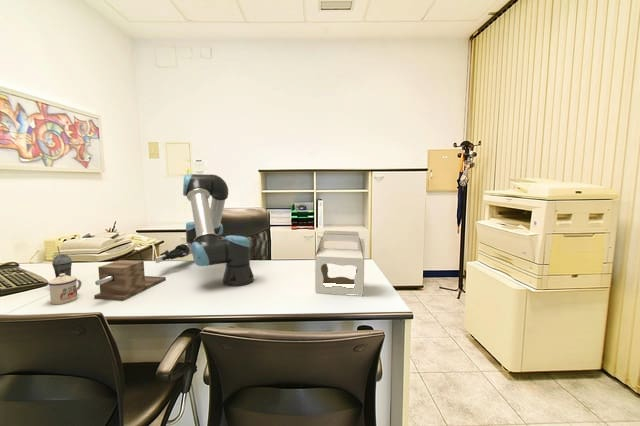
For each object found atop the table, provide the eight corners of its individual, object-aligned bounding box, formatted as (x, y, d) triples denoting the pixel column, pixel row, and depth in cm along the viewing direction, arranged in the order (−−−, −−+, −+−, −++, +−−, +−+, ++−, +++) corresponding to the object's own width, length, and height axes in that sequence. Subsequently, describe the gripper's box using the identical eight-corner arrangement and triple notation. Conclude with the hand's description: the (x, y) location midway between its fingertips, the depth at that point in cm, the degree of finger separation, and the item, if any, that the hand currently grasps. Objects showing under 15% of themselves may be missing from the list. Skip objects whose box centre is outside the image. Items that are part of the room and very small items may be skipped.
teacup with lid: (62, 305, 120) (59, 278, 118) (44, 303, 122) (41, 276, 120) (90, 294, 131) (88, 269, 130) (73, 293, 133) (71, 268, 132)
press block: (141, 278, 154) (139, 253, 152) (165, 280, 151) (164, 254, 150) (94, 298, 127) (92, 268, 126) (123, 300, 125) (120, 269, 123)
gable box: (314, 293, 135) (314, 232, 132) (319, 283, 148) (319, 228, 145) (363, 296, 131) (364, 234, 128) (364, 286, 144) (365, 229, 141)
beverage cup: (77, 285, 143) (74, 244, 141) (59, 290, 137) (55, 247, 135) (69, 282, 146) (65, 243, 144) (51, 287, 140) (47, 246, 138)
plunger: (132, 273, 142) (131, 261, 142) (143, 274, 142) (142, 262, 141) (91, 289, 121) (90, 275, 121) (104, 290, 120) (103, 276, 120)
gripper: (194, 256, 177) (168, 267, 154) (174, 255, 179) (146, 266, 156) (193, 244, 177) (167, 253, 153) (173, 243, 179) (145, 252, 155)
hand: (156, 260), depth 155 cm, fingers closed
